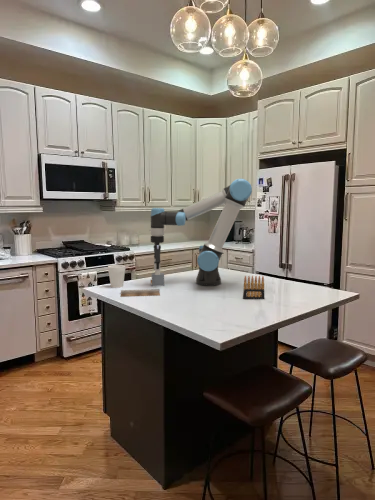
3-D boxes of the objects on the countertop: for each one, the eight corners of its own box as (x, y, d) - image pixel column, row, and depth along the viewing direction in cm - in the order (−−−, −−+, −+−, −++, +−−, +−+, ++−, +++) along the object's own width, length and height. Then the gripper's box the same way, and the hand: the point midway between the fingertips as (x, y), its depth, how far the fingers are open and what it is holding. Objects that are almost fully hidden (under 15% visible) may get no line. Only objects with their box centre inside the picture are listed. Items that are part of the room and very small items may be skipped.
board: (158, 292, 194) (158, 289, 194) (160, 298, 181) (160, 295, 181) (121, 293, 191) (121, 290, 191) (120, 299, 179) (120, 296, 178)
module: (163, 286, 208) (163, 272, 207) (164, 288, 203) (164, 274, 202) (150, 286, 207) (150, 273, 206) (150, 288, 202) (150, 274, 201)
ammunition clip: (263, 298, 182) (264, 275, 180) (264, 299, 180) (265, 275, 178) (242, 298, 182) (243, 275, 180) (243, 299, 180) (243, 275, 179)
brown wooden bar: (159, 291, 189) (159, 289, 188) (159, 292, 186) (159, 290, 186) (121, 293, 186) (121, 290, 186) (120, 294, 184) (120, 291, 183)
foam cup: (113, 291, 195) (112, 268, 193) (105, 288, 202) (105, 266, 200) (128, 289, 201) (128, 266, 199) (120, 286, 208) (120, 264, 206)
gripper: (150, 233, 213) (149, 268, 216) (151, 237, 189) (151, 276, 191) (162, 233, 214) (162, 268, 217) (165, 237, 190) (165, 276, 192)
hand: (156, 272), depth 204 cm, fingers open, 13 cm apart
